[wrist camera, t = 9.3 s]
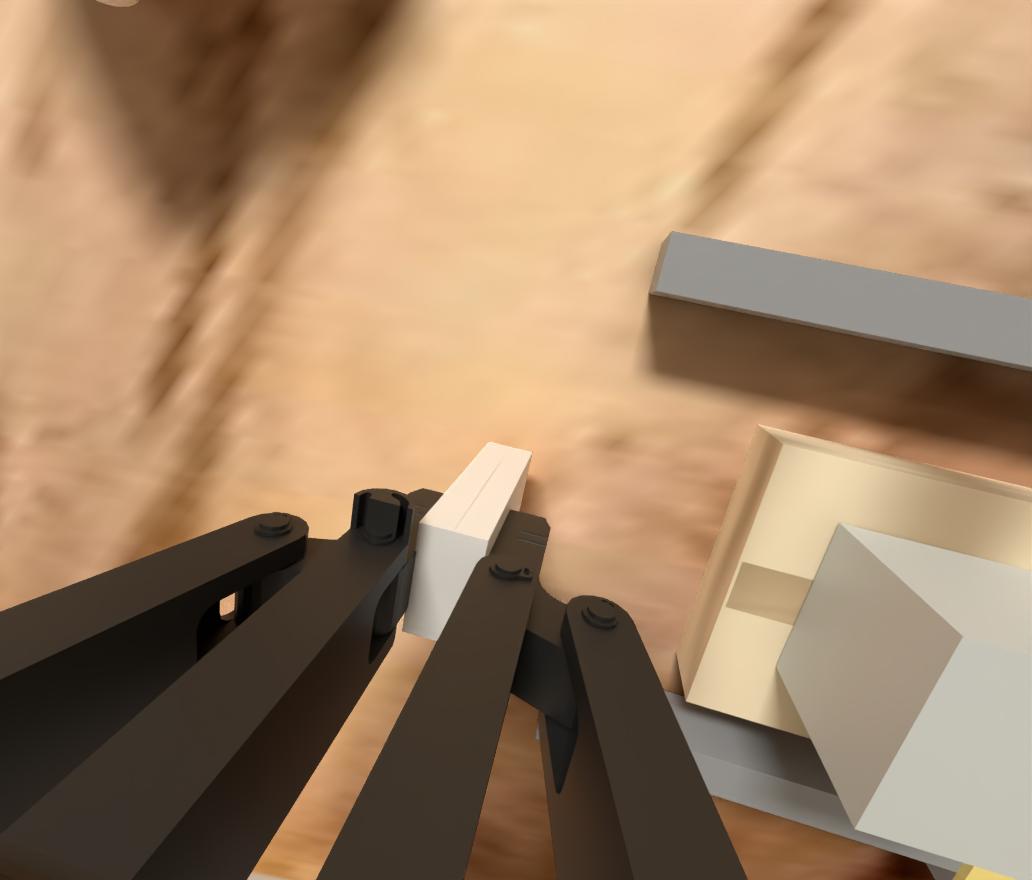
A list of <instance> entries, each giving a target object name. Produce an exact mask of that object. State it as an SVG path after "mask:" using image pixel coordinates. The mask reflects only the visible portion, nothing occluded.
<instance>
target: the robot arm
mask: <svg viewBox="0 0 1032 880" xmlns="http://www.w3.org/2000/svg"><path fill="white" fill-rule="evenodd" d="M531 457H532V452H529V451H525V450H521V449H517V448H513V447H509V446H505V445H501V444H497V443H493V442H488V443H487V445H486V446H485V447H484V448H483V449H482V450H481V451H480V453H479V454H478V455H477V456H476V457H475V458H474V460H473V461H472V462H471V463H470V464H469V465H468V467H467V468H466V469H465V470H464V471H463V472H462V473H461V475H460V476H459V477H458V478H457V479H456V480H455V482H454V483H453V484H452V485H451V486H450V487H449V488H448V490H447V491H446V492H445V493H440V492H436V491H432V490H428V489H424V488H423V489H420V490H417V491H414V492H411V493H409V494H408V495H406V494H404V493H401V492H398V491H395V490H389V489H367V490H362V491H360V492H357V493H355V494H354V501H353V510H352V518H351V527H350V529H349V530H348V531H347V532H346V533H345V534H344V535H342V536H341V537H340V538H339V539H338V540H328V539H316V538H308V531H309V527H308V525H307V522H306V521H304V520H303V519H301V518H300V517H297V516H294V515H290V514H287V513H280V512H274V513H268V514H260V515H257V516H253V517H249V518H247V519H244V520H242V521H239V522H236V523H234V524H231V525H228V526H226V527H223V528H220V529H218V530H215V531H212V532H210V533H207V534H205V535H202V536H199V537H197V538H194V539H191V540H189V541H186V542H183V543H181V544H178V545H175V546H173V547H170V548H168V549H165V550H162V551H160V552H157V553H154V554H152V555H149V556H146V557H144V558H141V559H138V560H136V561H133V562H131V563H128V564H125V565H123V566H120V567H117V568H115V569H112V570H109V571H107V572H104V573H101V574H99V575H96V576H94V577H91V578H88V579H86V580H83V581H80V582H78V583H75V584H72V585H70V586H67V587H65V588H62V589H59V590H57V591H54V592H51V593H49V594H46V595H43V596H41V597H38V598H35V599H33V600H30V601H28V602H25V603H22V604H20V605H17V606H14V607H12V608H9V609H6V610H4V611H1V612H0V880H247V879H248V877H249V875H250V874H251V872H252V871H253V869H254V867H255V866H256V864H257V863H258V861H259V859H260V858H261V856H262V855H263V853H264V851H265V850H266V848H267V846H268V845H269V843H270V842H271V840H272V838H273V837H274V835H275V834H276V832H277V830H278V829H279V827H280V826H281V824H282V822H283V821H284V819H285V818H286V816H287V814H288V813H289V811H290V810H291V808H292V806H293V805H294V803H295V802H296V800H297V798H298V797H299V795H300V793H301V792H302V790H303V789H304V787H305V785H306V784H307V782H308V781H309V779H310V777H311V776H312V774H313V773H314V771H315V769H316V768H317V766H318V765H319V763H320V761H321V760H322V758H323V757H324V755H325V753H326V752H327V750H328V749H329V747H330V745H331V744H332V742H333V740H334V739H335V737H336V736H337V734H338V732H339V731H340V729H341V728H342V726H343V724H344V723H345V721H346V720H347V718H348V716H349V715H350V713H351V712H352V710H353V708H354V707H355V705H356V704H357V702H358V700H359V699H360V697H361V696H362V694H363V692H364V691H365V689H366V688H367V686H368V684H369V683H370V681H371V679H372V678H373V676H374V675H375V673H376V671H377V670H378V668H379V667H380V665H381V663H382V662H383V660H384V659H385V657H386V655H387V654H388V652H389V651H390V649H391V647H392V646H393V642H394V639H395V634H396V627H397V623H398V622H399V620H400V619H401V617H402V616H403V614H404V613H405V616H404V622H403V629H402V631H404V632H407V633H410V634H414V635H417V636H421V637H424V638H427V639H431V640H434V641H437V642H436V644H435V646H434V648H433V650H432V652H431V654H430V656H429V658H428V660H427V662H426V664H425V666H424V668H423V670H422V672H421V674H420V676H419V678H418V680H417V682H416V684H415V686H414V688H413V690H412V692H411V694H410V696H409V697H408V699H407V701H406V703H405V705H404V707H403V709H402V711H401V713H400V715H399V717H398V719H397V721H396V723H395V725H394V727H393V729H392V731H391V733H390V735H389V737H388V739H387V741H386V743H385V745H384V747H383V749H382V751H381V753H380V755H379V757H378V759H377V761H376V763H375V765H374V766H373V768H372V770H371V772H370V774H369V776H368V778H367V780H366V782H365V784H364V786H363V788H362V790H361V792H360V794H359V796H358V798H357V800H356V802H355V804H354V806H353V808H352V810H351V812H350V814H349V816H348V818H347V820H346V822H345V824H344V826H343V828H342V830H341V832H340V834H339V835H338V837H337V839H336V841H335V843H334V845H333V847H332V849H331V851H330V853H329V855H328V857H327V859H326V861H325V863H324V865H323V867H322V869H321V871H320V873H319V875H318V877H317V879H316V880H464V878H465V874H466V870H467V866H468V862H469V857H470V853H471V849H472V845H473V841H474V837H475V833H476V829H477V825H478V821H479V817H480V813H481V809H482V805H483V801H484V797H485V793H486V789H487V785H488V781H489V777H490V773H491V769H492V765H493V761H494V757H495V753H496V749H497V745H498V741H499V737H500V733H501V729H502V725H503V721H504V717H505V713H506V709H507V705H508V701H509V697H510V693H512V694H514V695H515V696H517V697H519V698H520V699H522V700H523V701H525V702H527V703H528V704H530V705H531V706H533V707H535V708H536V709H538V710H539V712H538V729H539V737H540V745H541V753H542V761H543V769H544V777H545V785H546V794H547V802H548V810H549V818H550V826H551V834H552V842H553V850H554V858H555V866H556V875H557V880H748V879H747V877H746V874H745V872H744V870H743V868H742V865H741V863H740V861H739V859H738V856H737V854H736V852H735V850H734V847H733V845H732V843H731V841H730V838H729V836H728V834H727V831H726V829H725V827H724V825H723V822H722V820H721V818H720V816H719V813H718V811H717V809H716V807H715V804H714V802H713V800H712V798H711V795H710V793H709V791H708V789H707V786H706V784H705V782H704V780H703V777H702V775H701V773H700V771H699V768H698V766H697V764H696V762H695V759H694V757H693V755H692V752H691V750H690V748H689V746H688V743H687V741H686V739H685V737H684V734H683V732H682V730H681V728H680V725H679V723H678V721H677V719H676V716H675V714H674V712H673V710H672V707H671V705H670V703H669V701H668V698H667V696H666V694H665V692H664V689H663V687H662V685H661V683H660V680H659V678H658V676H657V673H656V671H655V669H654V667H653V664H652V662H651V660H650V658H649V655H648V653H647V651H646V649H645V646H644V644H643V642H642V640H641V637H640V635H639V633H638V631H637V628H636V626H635V624H634V622H633V620H632V618H631V617H630V616H629V614H628V613H627V612H626V611H625V610H624V609H622V608H621V607H620V606H619V605H617V604H616V603H614V602H612V601H609V600H608V599H605V598H600V597H596V596H584V595H581V596H578V597H575V598H572V599H571V600H570V601H569V602H568V604H567V605H566V604H564V603H562V602H560V601H558V600H557V599H555V598H553V597H552V596H551V595H549V594H548V593H547V592H546V591H545V590H544V588H543V587H542V586H541V584H540V581H539V574H540V570H541V565H542V561H543V557H544V553H545V549H546V545H547V541H548V537H549V532H550V526H549V525H548V523H547V521H546V519H545V518H542V517H538V516H534V515H530V514H526V513H522V512H519V511H520V507H521V502H522V498H523V493H524V489H525V484H526V479H527V475H528V470H529V466H530V461H531ZM233 593H235V606H234V611H232V612H230V613H228V614H226V615H223V616H220V600H222V599H223V598H225V597H227V596H229V595H231V594H233Z"/></svg>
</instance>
